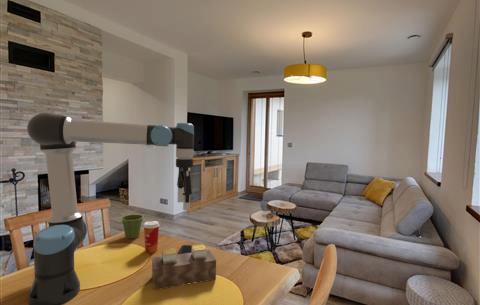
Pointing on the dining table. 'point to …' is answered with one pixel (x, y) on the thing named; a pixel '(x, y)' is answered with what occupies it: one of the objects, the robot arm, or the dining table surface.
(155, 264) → the walnut block
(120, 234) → the dining table surface
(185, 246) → the phone
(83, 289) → the dining table surface
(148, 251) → the paper cup
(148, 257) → the dining table surface
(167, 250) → the peg left
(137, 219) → the plant pot
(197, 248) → the peg right
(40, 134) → the robot arm
